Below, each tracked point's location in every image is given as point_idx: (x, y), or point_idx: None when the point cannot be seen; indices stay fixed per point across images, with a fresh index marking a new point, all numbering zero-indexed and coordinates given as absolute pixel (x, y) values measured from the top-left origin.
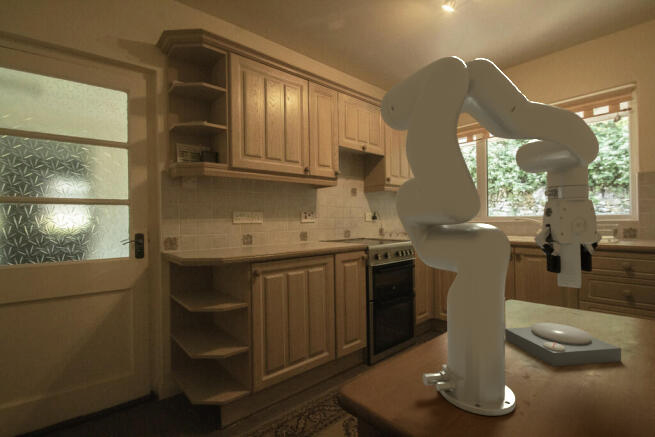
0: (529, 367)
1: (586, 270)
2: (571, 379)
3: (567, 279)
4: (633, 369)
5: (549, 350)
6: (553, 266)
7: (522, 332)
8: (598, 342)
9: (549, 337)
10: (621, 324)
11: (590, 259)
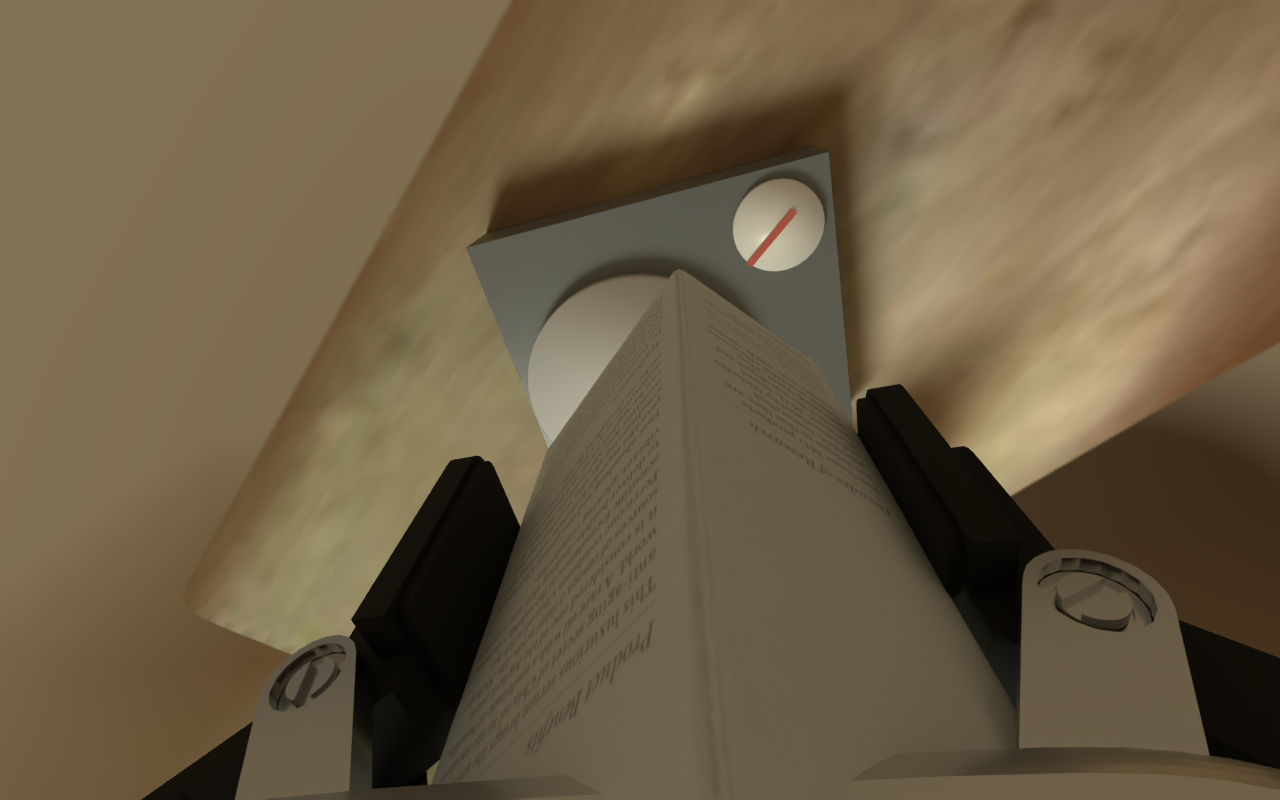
0: (938, 124)
1: (496, 479)
2: (827, 9)
3: (770, 350)
4: (483, 157)
5: (828, 183)
6: (960, 458)
7: None
8: (526, 305)
9: None
10: (287, 569)
11: (408, 555)
